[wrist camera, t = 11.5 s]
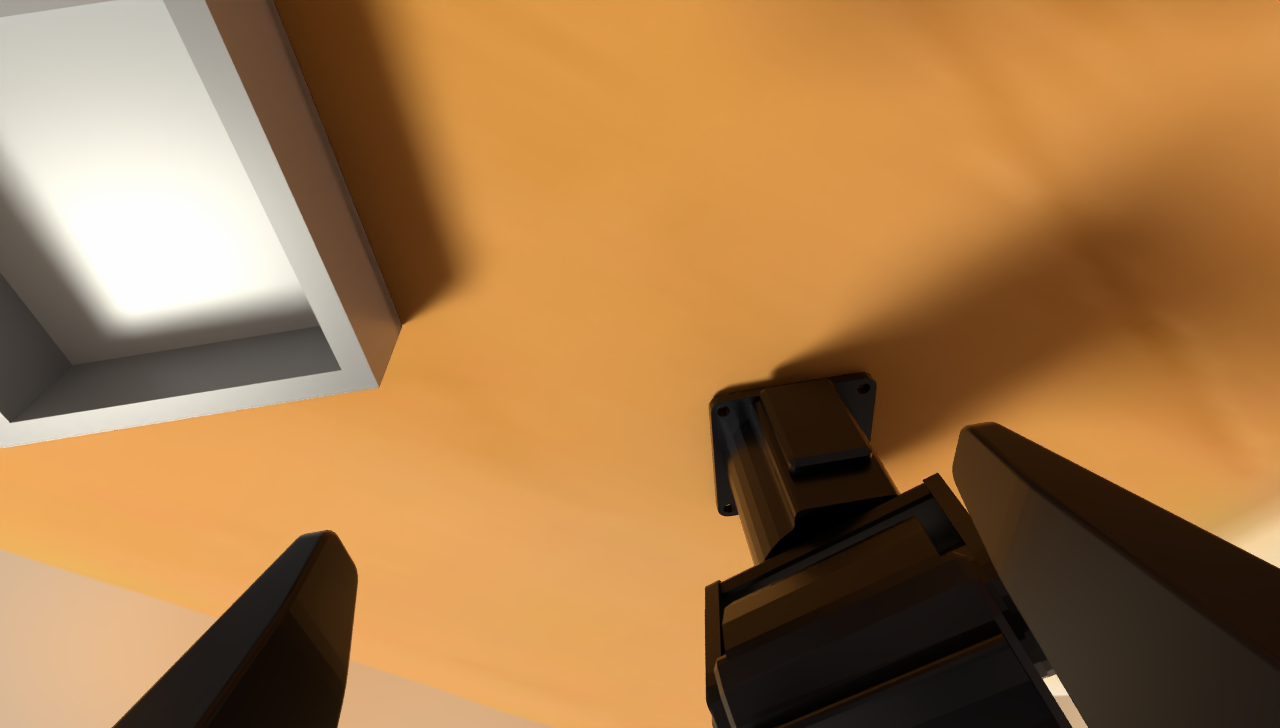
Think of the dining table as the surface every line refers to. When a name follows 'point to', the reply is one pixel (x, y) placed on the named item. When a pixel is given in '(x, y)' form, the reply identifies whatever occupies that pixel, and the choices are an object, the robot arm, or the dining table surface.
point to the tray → (171, 222)
